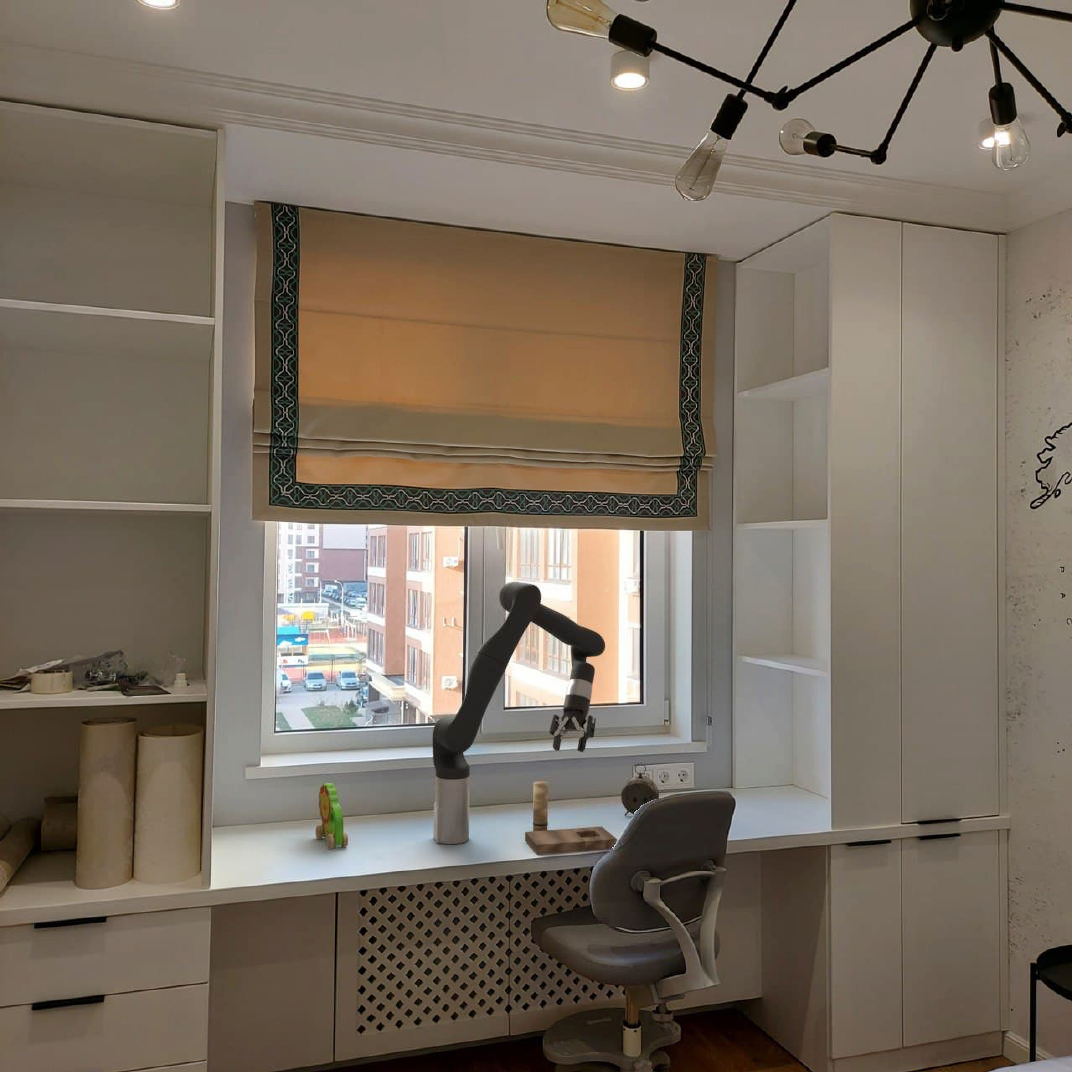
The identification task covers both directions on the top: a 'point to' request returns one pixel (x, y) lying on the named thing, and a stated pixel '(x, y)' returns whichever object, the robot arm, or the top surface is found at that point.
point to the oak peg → (540, 806)
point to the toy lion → (331, 818)
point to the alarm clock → (638, 792)
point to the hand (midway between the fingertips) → (568, 750)
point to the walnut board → (570, 840)
